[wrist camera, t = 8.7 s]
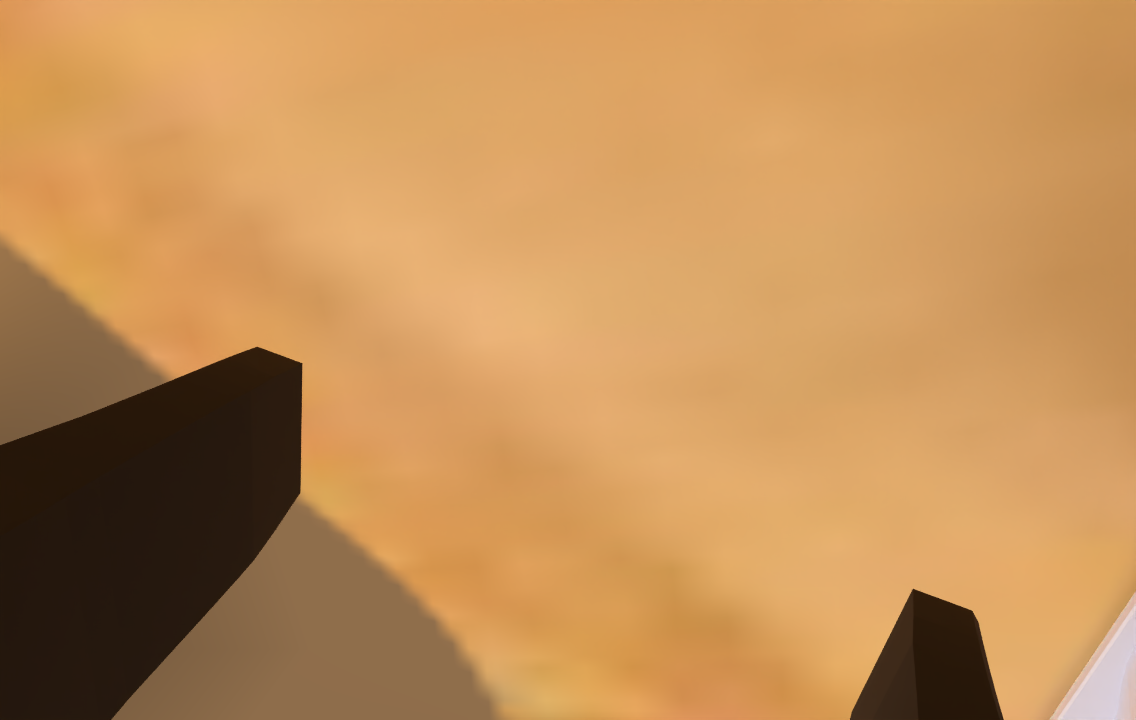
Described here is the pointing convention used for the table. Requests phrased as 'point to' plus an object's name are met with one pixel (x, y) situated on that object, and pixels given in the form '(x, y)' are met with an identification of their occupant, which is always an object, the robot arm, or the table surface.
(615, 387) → the table surface
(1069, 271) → the table surface
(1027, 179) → the table surface
